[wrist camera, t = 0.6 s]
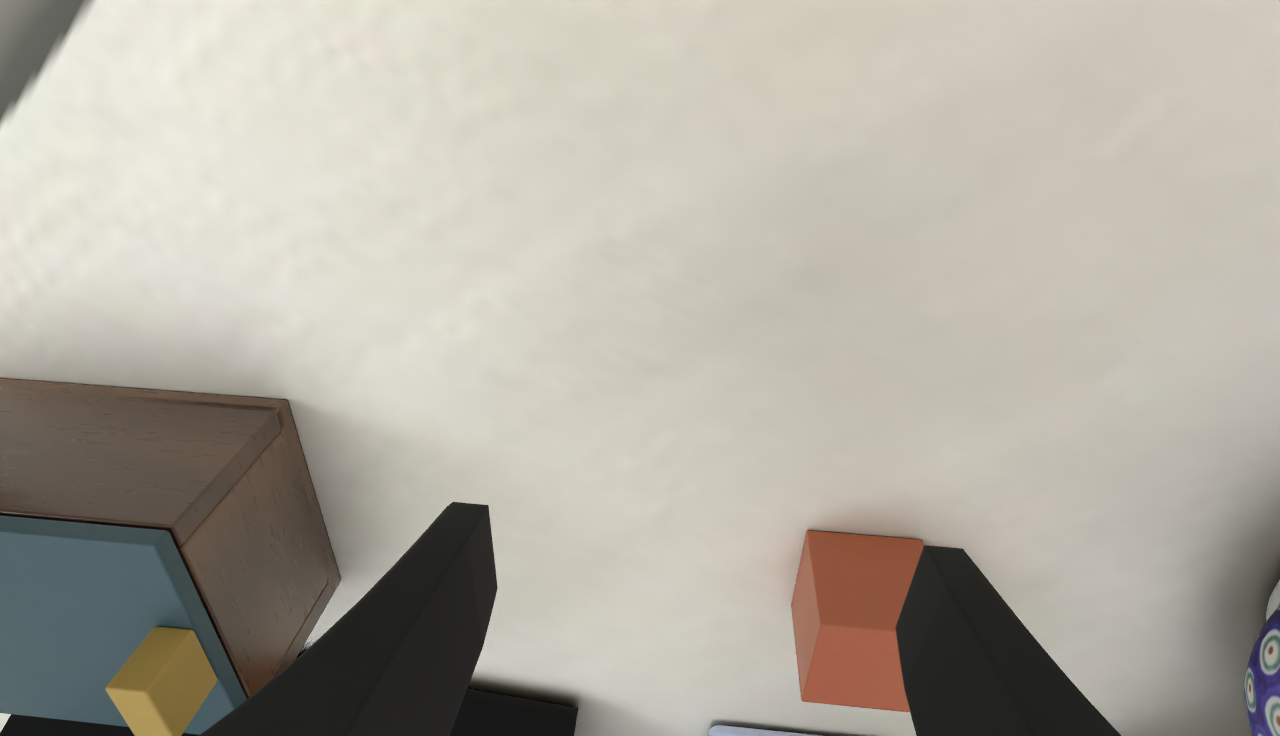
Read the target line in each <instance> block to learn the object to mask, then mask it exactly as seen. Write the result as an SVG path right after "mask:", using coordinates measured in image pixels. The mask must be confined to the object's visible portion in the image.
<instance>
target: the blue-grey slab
mask: <svg viewBox="0 0 1280 736" xmlns="http://www.w3.org/2000/svg"><path fill="white" fill-rule="evenodd" d="M245 700H247V699H246V696H245V694H244V692H243V690H242V688H241V686H240V684H239V681H238V679H237V677H236V675H235V673H234V671H233V668H232V666H231V664H230V662H229V660H228V658H227V656H226V653H225V651H224V649H223V647H222V645H221V643H220V641H219V638H218V636H217V634H216V632H215V630H214V628H213V625H212V623H211V621H210V619H209V617H208V615H207V613H206V610H205V608H204V606H203V604H202V602H201V600H200V597H199V595H198V593H197V591H196V589H195V587H194V585H193V582H192V580H191V578H190V576H189V574H188V572H187V570H186V567H185V565H184V563H183V561H182V559H181V557H180V554H179V552H178V550H177V548H176V546H175V544H174V542H173V539H172V537H171V535H170V533H169V532H168V531H167V530H156V529H144V528H133V527H122V526H111V525H100V524H89V523H78V522H66V521H55V520H44V519H33V518H22V517H11V516H0V713H7V714H16V715H25V716H34V717H43V718H52V719H61V720H71V721H80V722H89V723H98V724H107V725H116V726H125V727H130V729H131V731H132V732H133V734H134V735H135V736H181V735H182V734H183V733H189V734H198V735H200V734H202V733H203V732H204V731H206V730H207V729H208V728H210V727H211V726H212V725H214V724H215V723H216V722H218V721H219V720H220V719H222V718H223V717H224V716H226V715H227V714H228V713H230V712H231V711H232V710H234V709H235V708H236V707H238V706H239V705H240V704H241V703H243V702H244V701H245Z"/></svg>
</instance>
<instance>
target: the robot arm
mask: <svg viewBox="0 0 1280 736" xmlns="http://www.w3.org/2000/svg"><path fill="white" fill-rule="evenodd" d="M496 592H497V580H496V571H495V562H494V553H493V544H492V535H491V526H490V517H489V508H488V505H480V504H469V503H458V502H452V503H451V504H450V505H449V506H447V507H446V508H445V510H444V511H443V512H442V513H441V514H440V515H439V516H438V518H437V519H436V520H435V521H434V522H433V523H432V524H431V525H430V527H429V528H428V529H427V530H426V531H425V532H424V533H423V534H422V536H421V537H420V538H419V539H418V540H417V541H416V542H415V543H414V544H413V545H412V547H411V548H410V549H409V550H408V551H407V552H406V553H405V554H404V555H403V556H402V557H401V558H400V559H399V561H398V562H397V563H396V564H395V565H394V566H393V567H392V568H391V569H390V570H389V571H388V572H387V573H386V574H385V575H384V576H383V577H382V578H381V579H380V580H379V581H378V582H377V583H376V584H375V585H374V586H373V587H372V588H371V589H370V591H369V592H368V593H367V594H366V595H365V596H364V597H363V598H362V599H361V600H360V601H359V602H358V603H357V604H356V605H355V606H353V607H352V608H351V609H350V610H349V611H348V612H347V613H346V614H345V615H344V616H343V617H342V618H341V619H340V620H339V621H337V622H336V623H335V624H334V625H333V626H332V627H331V628H330V629H329V630H328V631H327V632H326V633H325V634H324V635H323V636H321V637H320V638H319V639H318V640H317V641H316V642H315V643H314V644H313V645H312V646H311V647H309V648H308V649H307V650H306V651H305V652H304V653H303V654H301V655H300V656H299V657H298V658H297V659H296V660H295V661H293V662H292V663H291V664H290V665H289V666H287V667H286V668H285V669H284V670H283V671H282V672H280V673H279V674H278V675H277V676H275V677H274V678H273V679H272V680H271V681H269V682H268V683H267V684H266V685H264V686H263V687H262V688H261V689H260V690H258V691H257V692H256V693H255V694H253V695H252V696H251V697H249V698H248V699H247V700H245V701H244V702H243V703H241V704H240V705H239V706H238V707H236V708H235V709H234V710H232V711H231V712H230V713H228V714H227V715H226V716H224V717H223V718H222V719H220V720H219V721H218V722H216V723H215V724H214V725H212V726H211V727H210V728H208V729H207V730H206V731H204V732H203V733H202V734H200V735H199V736H449V735H450V733H451V730H452V727H453V725H454V722H455V720H456V717H457V714H458V712H459V709H460V706H461V704H462V701H463V698H464V696H465V693H466V690H467V688H468V685H469V682H470V680H471V677H472V674H473V672H474V669H475V666H476V664H477V661H478V658H479V655H480V653H481V650H482V647H483V644H484V640H485V636H486V632H487V628H488V625H489V621H490V617H491V613H492V608H493V604H494V600H495V596H496ZM895 628H896V636H897V643H898V650H899V658H900V664H901V671H902V677H903V683H904V689H905V693H906V697H907V701H908V705H909V709H910V712H911V716H912V720H913V724H914V727H915V731H916V735H917V736H1121V735H1120V734H1119V733H1118V732H1117V731H1116V730H1115V729H1114V728H1113V727H1112V725H1111V724H1110V723H1109V722H1108V721H1107V720H1106V719H1105V718H1104V717H1103V716H1102V715H1101V714H1100V713H1099V711H1098V710H1097V709H1096V708H1095V707H1094V706H1093V705H1092V704H1091V703H1090V702H1089V701H1088V700H1087V699H1086V697H1085V696H1084V695H1083V694H1082V693H1081V692H1080V691H1079V690H1078V688H1077V687H1076V686H1075V685H1074V684H1073V683H1072V682H1071V681H1070V679H1069V678H1068V677H1067V676H1066V675H1065V673H1064V672H1063V671H1062V670H1061V669H1060V668H1059V666H1058V665H1057V664H1056V663H1055V662H1054V661H1053V659H1052V658H1051V657H1050V656H1049V655H1048V654H1047V652H1046V651H1045V650H1044V649H1043V648H1042V646H1041V645H1040V644H1039V643H1038V642H1037V641H1036V639H1035V638H1034V637H1033V636H1032V634H1031V633H1030V632H1029V631H1028V630H1027V628H1026V627H1025V626H1024V625H1023V624H1022V622H1021V621H1020V620H1019V619H1018V617H1017V616H1016V615H1015V614H1014V612H1013V611H1012V610H1011V609H1010V607H1009V606H1008V605H1007V604H1006V602H1005V601H1004V600H1003V599H1002V597H1001V596H1000V595H999V594H998V592H997V591H996V590H995V589H994V587H993V586H992V585H991V583H990V582H989V581H988V580H987V578H986V577H985V576H984V575H983V573H982V572H981V571H980V570H979V568H978V567H977V566H976V565H975V563H974V562H973V561H972V560H971V558H970V557H969V556H968V555H967V554H966V552H965V551H964V550H963V549H959V548H948V547H937V546H927V545H924V547H923V550H922V553H921V556H920V558H919V561H918V564H917V567H916V570H915V573H914V576H913V578H912V581H911V584H910V587H909V590H908V593H907V596H906V599H905V601H904V604H903V607H902V610H901V613H900V616H899V619H898V621H897V624H896V627H895ZM708 736H821V735H811V734H801V733H792V732H782V731H772V730H763V729H753V728H743V727H734V726H724V725H716V726H713V727H711V728H710V729H709V732H708Z"/></svg>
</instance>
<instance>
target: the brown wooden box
mask: <svg viewBox="0 0 1280 736" xmlns="http://www.w3.org/2000/svg"><path fill="white" fill-rule="evenodd" d="M0 516H11V517H22V518H33V519H44V520H55V521H66V522H78V523H89V524H100V525H111V526H122V527H133V528H144V529H156V530H167V531H168V532H169V533H170V535H171V537H172V539H173V542H174V544H175V546H176V548H177V550H178V552H179V554H180V557H181V559H182V561H183V563H184V565H185V567H186V570H187V572H188V574H189V576H190V578H191V580H192V582H193V585H194V587H195V589H196V591H197V593H198V595H199V597H200V600H201V602H202V604H203V606H204V608H205V610H206V613H207V615H208V617H209V619H210V621H211V623H212V625H213V628H214V630H215V632H216V634H217V636H218V638H219V641H220V643H221V645H222V647H223V649H224V651H225V653H226V656H227V658H228V660H229V662H230V664H231V666H232V668H233V671H234V673H235V675H236V677H237V679H238V681H239V684H240V686H241V688H242V690H243V692H244V694H245V696H246V699H248V698H249V697H251V696H252V695H253V694H255V693H256V692H257V691H258V690H260V689H261V688H262V687H263V686H264V685H266V684H267V683H268V682H269V681H271V680H272V679H273V678H274V677H275V676H277V675H278V674H279V673H280V672H282V671H283V670H284V669H285V668H286V667H287V666H289V665H290V664H291V663H292V662H293V661H295V660H296V658H297V656H298V654H299V653H300V651H301V649H302V647H303V646H304V644H305V642H306V640H307V639H308V637H309V635H310V633H311V632H312V630H313V628H314V627H315V625H316V623H317V621H318V620H319V618H320V616H321V614H322V613H323V611H324V609H325V607H326V606H327V604H328V602H329V600H330V599H331V597H332V595H333V593H334V592H335V590H336V588H337V586H338V585H339V583H340V581H341V579H340V576H339V573H338V569H337V566H336V563H335V559H334V556H333V552H332V549H331V546H330V542H329V539H328V536H327V532H326V529H325V526H324V522H323V519H322V516H321V512H320V509H319V506H318V502H317V499H316V496H315V492H314V489H313V486H312V482H311V479H310V476H309V472H308V469H307V465H306V462H305V459H304V455H303V452H302V449H301V445H300V442H299V439H298V435H297V432H296V429H295V425H294V422H293V419H292V415H291V412H290V409H289V405H288V402H287V400H281V399H268V398H255V397H242V396H228V395H215V394H202V393H189V392H176V391H162V390H149V389H136V388H123V387H110V386H96V385H83V384H70V383H57V382H43V381H30V380H17V379H4V378H0Z"/></svg>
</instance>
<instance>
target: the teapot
mask: <svg viewBox="0 0 1280 736" xmlns="http://www.w3.org/2000/svg"><path fill="white" fill-rule="evenodd" d="M1244 695H1245V705H1246V711H1247V717H1248V722H1249V727H1250V730H1251V732H1252V735H1253V736H1280V580H1279V581H1278V583H1277V585H1276V586H1275V588H1274V590H1273V592H1272V594H1271V596H1270V598H1269V602H1268V606H1267V610H1266V623H1265V625H1264V626H1263V628H1262V630H1261V631H1260V633H1259V635H1258V636H1257V638H1256V640H1255V643H1254V647H1253V650H1252V653H1251V656H1250V660H1249V664H1248V668H1247V672H1246V676H1245V680H1244Z"/></svg>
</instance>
